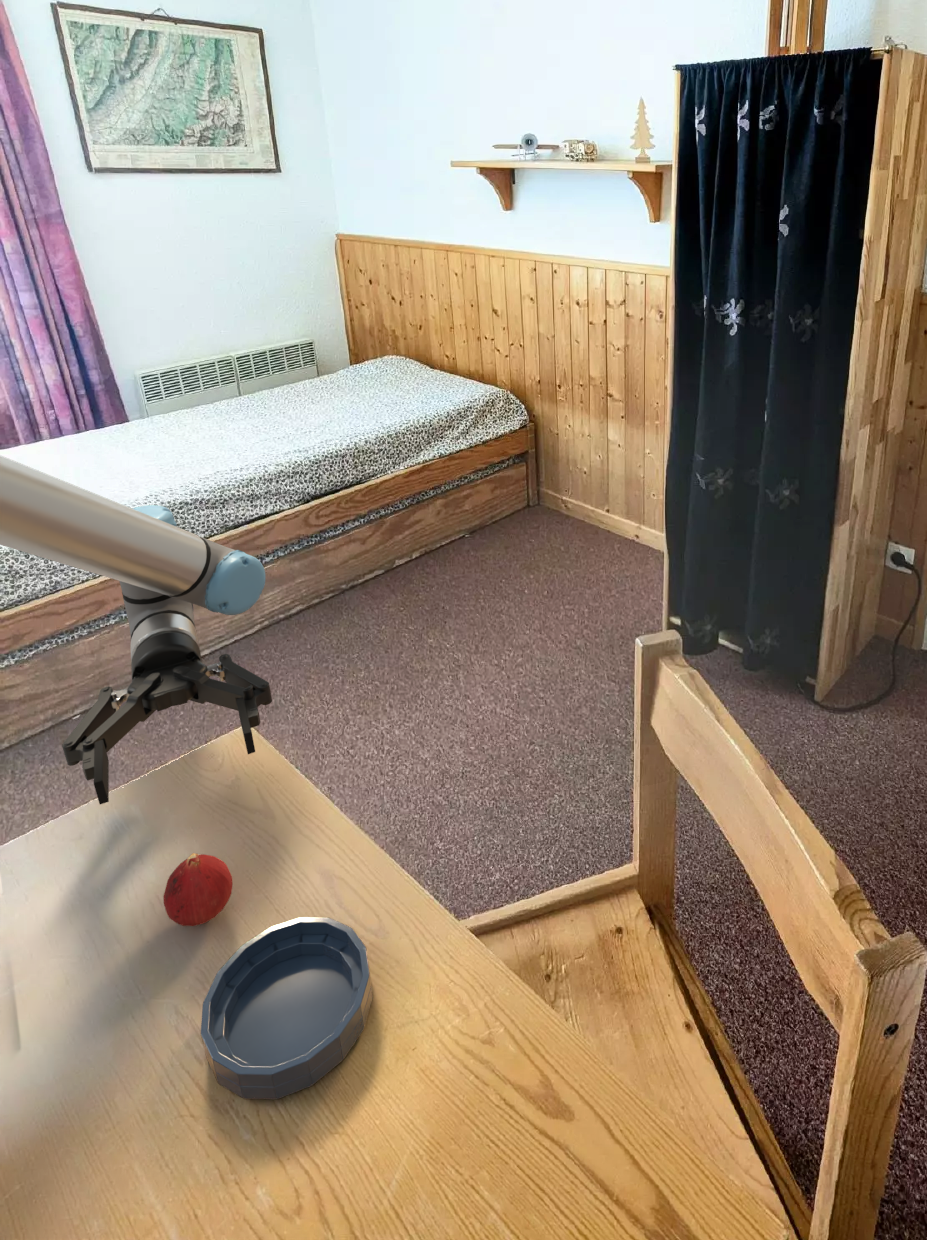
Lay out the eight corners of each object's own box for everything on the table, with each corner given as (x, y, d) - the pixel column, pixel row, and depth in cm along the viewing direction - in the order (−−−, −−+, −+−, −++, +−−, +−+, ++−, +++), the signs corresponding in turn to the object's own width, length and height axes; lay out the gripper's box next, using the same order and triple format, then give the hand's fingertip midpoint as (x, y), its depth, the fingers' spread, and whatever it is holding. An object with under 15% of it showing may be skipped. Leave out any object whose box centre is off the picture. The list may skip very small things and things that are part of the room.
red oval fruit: (179, 958, 72) (163, 895, 70) (165, 914, 77) (149, 852, 74) (245, 921, 76) (232, 860, 73) (227, 881, 80) (215, 821, 77)
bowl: (177, 1102, 62) (169, 1072, 60) (249, 942, 74) (244, 915, 73) (344, 1105, 61) (340, 1075, 60) (389, 944, 74) (386, 917, 73)
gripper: (276, 652, 105) (309, 751, 88) (53, 715, 93) (41, 845, 76) (268, 603, 102) (300, 696, 85) (38, 662, 90) (21, 785, 73)
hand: (178, 767), depth 80 cm, fingers open, 13 cm apart
